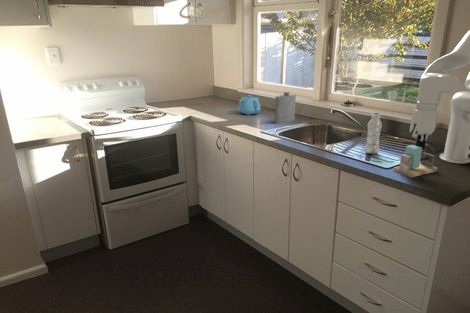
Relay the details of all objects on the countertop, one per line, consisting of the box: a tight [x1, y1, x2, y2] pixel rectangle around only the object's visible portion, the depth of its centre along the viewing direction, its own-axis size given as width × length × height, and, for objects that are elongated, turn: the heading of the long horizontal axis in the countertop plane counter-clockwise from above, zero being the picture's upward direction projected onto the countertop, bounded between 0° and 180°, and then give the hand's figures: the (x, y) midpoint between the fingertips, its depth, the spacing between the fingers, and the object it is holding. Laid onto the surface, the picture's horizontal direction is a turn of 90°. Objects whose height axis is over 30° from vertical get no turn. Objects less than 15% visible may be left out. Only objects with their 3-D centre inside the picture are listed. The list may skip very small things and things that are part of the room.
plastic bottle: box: [364, 112, 383, 155], centre depth 178 cm, size 6×7×20 cm
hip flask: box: [274, 91, 297, 124], centre depth 241 cm, size 16×4×20 cm, turn 123°
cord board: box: [392, 152, 438, 178], centre depth 157 cm, size 16×9×8 cm, turn 116°
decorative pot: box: [237, 94, 261, 116], centre depth 267 cm, size 16×16×14 cm
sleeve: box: [404, 144, 423, 169], centre depth 155 cm, size 4×5×9 cm
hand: (419, 149), depth 155 cm, fingers closed
